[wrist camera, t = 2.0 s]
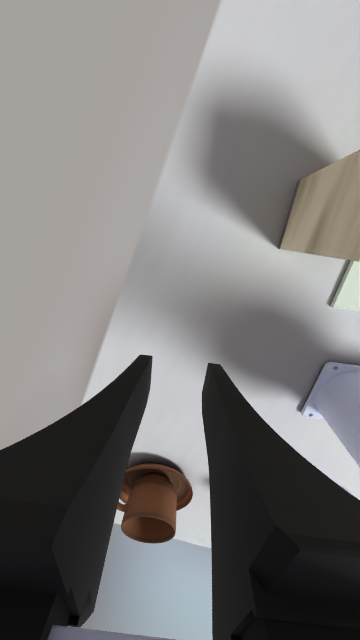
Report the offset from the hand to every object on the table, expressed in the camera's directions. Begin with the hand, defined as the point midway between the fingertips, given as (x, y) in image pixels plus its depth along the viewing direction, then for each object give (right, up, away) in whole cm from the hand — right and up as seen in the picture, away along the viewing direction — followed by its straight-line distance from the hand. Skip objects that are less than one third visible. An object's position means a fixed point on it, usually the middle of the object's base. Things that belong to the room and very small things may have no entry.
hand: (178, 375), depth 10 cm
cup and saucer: (-4, -23, +22) cm, 32 cm away
